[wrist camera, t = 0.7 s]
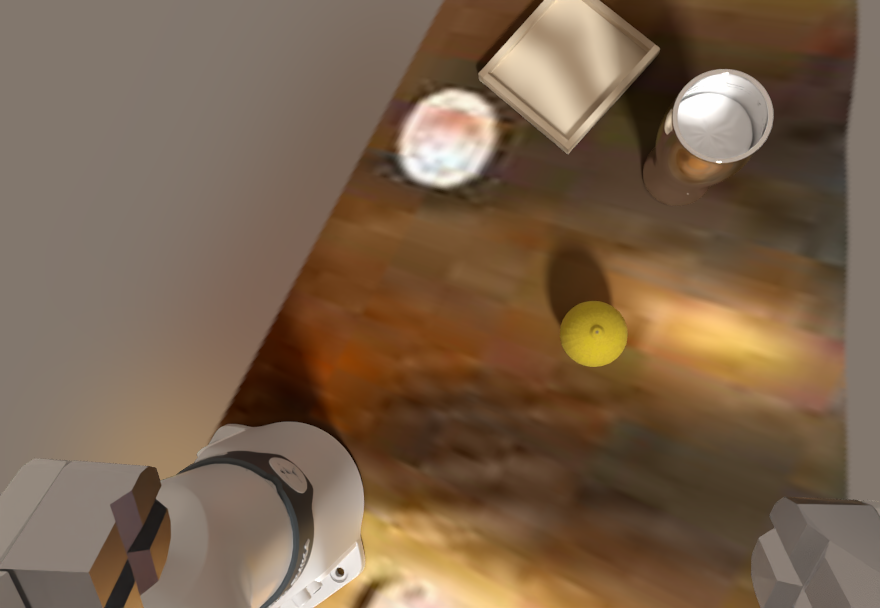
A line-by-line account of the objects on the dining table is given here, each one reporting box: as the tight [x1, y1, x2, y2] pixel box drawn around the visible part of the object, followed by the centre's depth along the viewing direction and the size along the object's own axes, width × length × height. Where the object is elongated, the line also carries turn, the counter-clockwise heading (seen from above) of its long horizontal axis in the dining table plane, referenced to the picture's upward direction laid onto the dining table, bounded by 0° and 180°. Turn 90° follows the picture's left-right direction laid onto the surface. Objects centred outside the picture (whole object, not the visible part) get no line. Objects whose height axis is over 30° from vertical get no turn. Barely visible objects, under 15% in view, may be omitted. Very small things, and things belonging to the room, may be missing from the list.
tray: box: [478, 0, 660, 154], centre depth 62 cm, size 12×11×2 cm
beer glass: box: [643, 69, 773, 206], centre depth 53 cm, size 7×7×15 cm
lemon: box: [560, 301, 628, 367], centre depth 57 cm, size 6×6×8 cm
